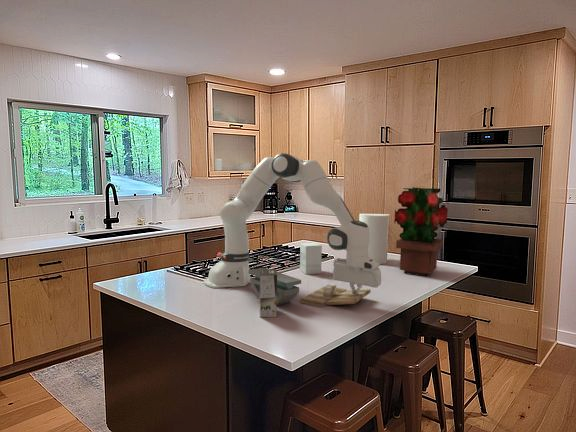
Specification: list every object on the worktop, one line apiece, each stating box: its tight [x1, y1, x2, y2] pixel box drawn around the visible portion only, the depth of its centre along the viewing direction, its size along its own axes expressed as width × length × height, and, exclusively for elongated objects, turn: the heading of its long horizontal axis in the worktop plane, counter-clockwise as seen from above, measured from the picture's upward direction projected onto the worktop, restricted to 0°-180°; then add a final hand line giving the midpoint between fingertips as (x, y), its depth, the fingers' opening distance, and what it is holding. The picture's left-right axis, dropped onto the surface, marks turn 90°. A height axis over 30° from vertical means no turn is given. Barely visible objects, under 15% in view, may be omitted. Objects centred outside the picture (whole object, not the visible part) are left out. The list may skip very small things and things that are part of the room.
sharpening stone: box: [249, 267, 302, 306], centre depth 182 cm, size 25×8×11 cm, turn 40°
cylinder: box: [358, 213, 390, 265], centre depth 260 cm, size 17×17×28 cm
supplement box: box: [299, 242, 323, 275], centre depth 230 cm, size 9×9×15 cm
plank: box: [326, 288, 372, 306], centre depth 182 cm, size 18×12×1 cm
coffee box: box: [259, 268, 278, 318], centre depth 166 cm, size 9×6×16 cm
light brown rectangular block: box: [299, 283, 347, 308], centre depth 188 cm, size 24×10×6 cm, turn 149°
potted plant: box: [393, 186, 448, 277], centre depth 233 cm, size 22×22×45 cm
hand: (355, 293), depth 181 cm, fingers closed
